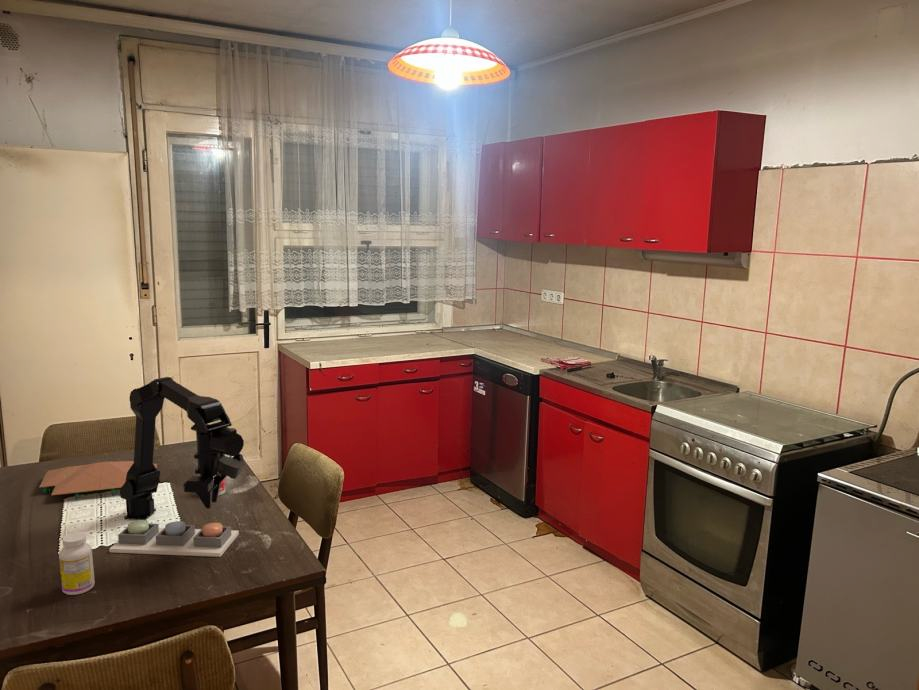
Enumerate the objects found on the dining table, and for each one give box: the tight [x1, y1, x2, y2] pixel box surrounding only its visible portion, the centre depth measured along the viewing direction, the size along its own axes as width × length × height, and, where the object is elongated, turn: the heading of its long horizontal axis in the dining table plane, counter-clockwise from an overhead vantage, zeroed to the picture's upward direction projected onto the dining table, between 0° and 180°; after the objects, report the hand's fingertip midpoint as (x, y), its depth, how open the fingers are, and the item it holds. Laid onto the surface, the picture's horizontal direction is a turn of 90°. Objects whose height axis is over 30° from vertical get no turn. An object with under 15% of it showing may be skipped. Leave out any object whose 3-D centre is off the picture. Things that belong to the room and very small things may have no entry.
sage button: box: [127, 519, 149, 534], centre depth 181 cm, size 5×5×2 cm
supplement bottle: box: [58, 532, 96, 596], centre depth 157 cm, size 7×7×13 cm
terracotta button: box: [201, 522, 223, 537], centre depth 180 cm, size 5×5×2 cm
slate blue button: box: [164, 520, 186, 536], centre depth 180 cm, size 5×5×2 cm
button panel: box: [108, 523, 240, 558], centre depth 181 cm, size 29×13×4 cm, turn 88°
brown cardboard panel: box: [38, 460, 158, 500], centre depth 218 cm, size 23×33×8 cm
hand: (211, 505), depth 179 cm, fingers open, 4 cm apart
